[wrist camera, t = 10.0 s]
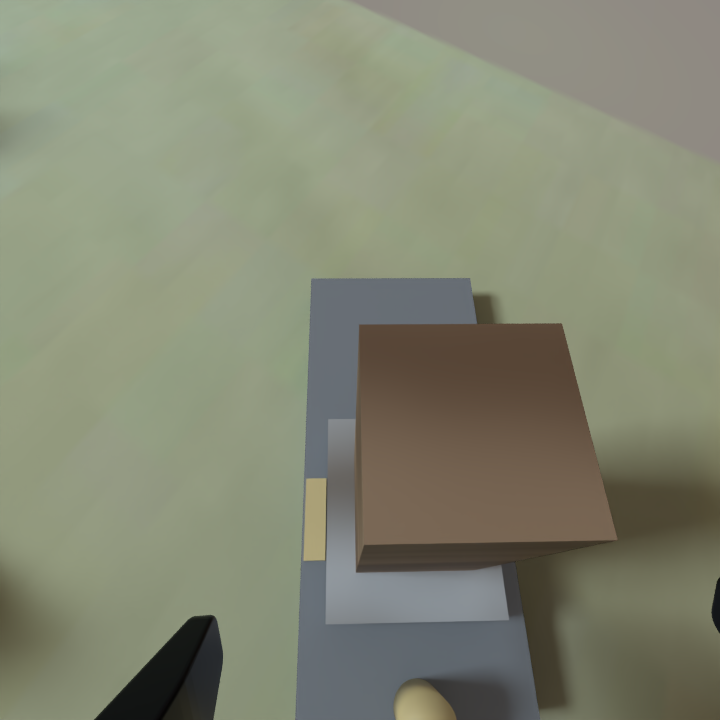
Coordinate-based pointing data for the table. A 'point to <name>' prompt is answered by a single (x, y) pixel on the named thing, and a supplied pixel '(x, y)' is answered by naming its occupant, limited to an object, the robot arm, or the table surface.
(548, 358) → the brown wooden block
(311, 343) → the tensioner track
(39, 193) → the table surface
